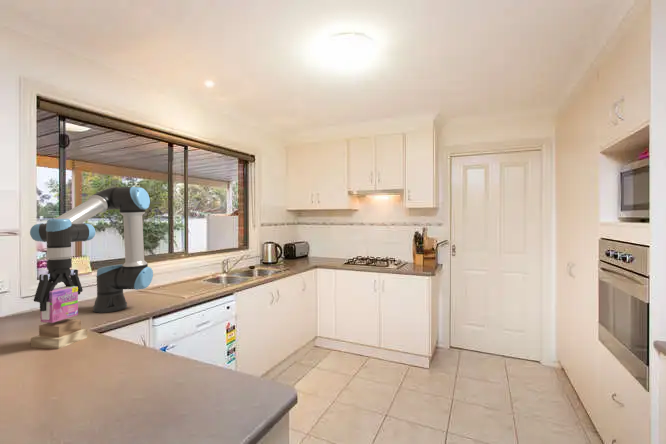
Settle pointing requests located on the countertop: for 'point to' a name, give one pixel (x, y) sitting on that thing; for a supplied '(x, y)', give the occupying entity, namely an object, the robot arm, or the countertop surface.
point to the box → (62, 303)
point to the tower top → (60, 328)
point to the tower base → (58, 340)
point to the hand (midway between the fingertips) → (60, 315)
